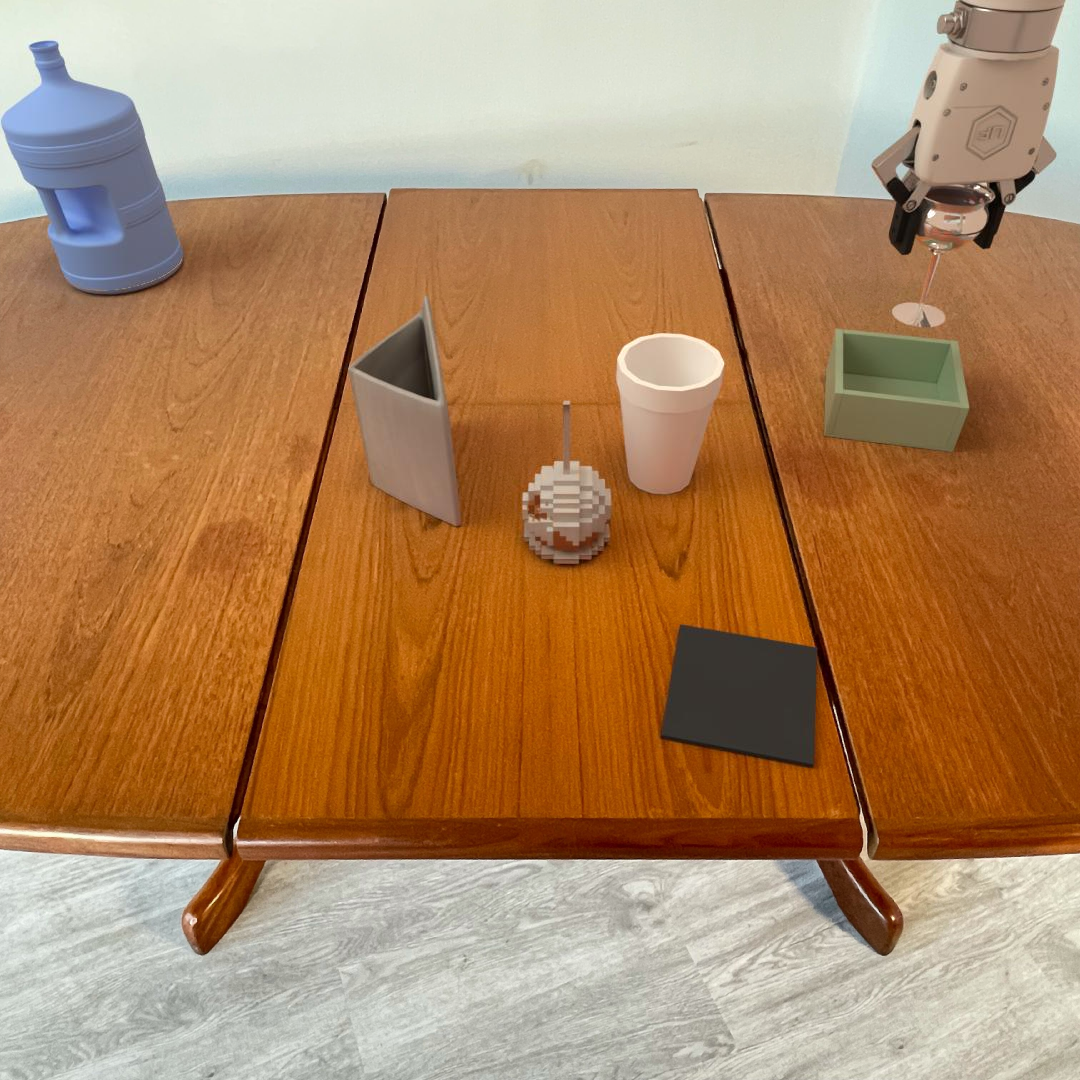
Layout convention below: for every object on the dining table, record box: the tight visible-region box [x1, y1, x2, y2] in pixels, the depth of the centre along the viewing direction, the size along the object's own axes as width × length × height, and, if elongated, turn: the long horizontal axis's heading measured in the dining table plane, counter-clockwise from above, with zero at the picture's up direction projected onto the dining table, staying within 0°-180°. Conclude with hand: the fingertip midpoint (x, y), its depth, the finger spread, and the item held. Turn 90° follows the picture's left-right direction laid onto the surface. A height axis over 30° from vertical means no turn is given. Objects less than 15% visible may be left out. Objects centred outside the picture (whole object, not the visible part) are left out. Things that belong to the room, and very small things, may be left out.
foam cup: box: [615, 332, 726, 495], centre depth 83 cm, size 10×9×13 cm
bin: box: [823, 328, 970, 453], centre depth 92 cm, size 13×13×5 cm
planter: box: [347, 295, 462, 527], centre depth 81 cm, size 16×8×19 cm, turn 12°
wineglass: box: [891, 183, 995, 328], centre depth 82 cm, size 7×7×12 cm
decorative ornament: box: [521, 400, 612, 565], centre depth 76 cm, size 8×8×15 cm
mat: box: [660, 624, 818, 768], centre depth 68 cm, size 11×11×1 cm
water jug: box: [0, 40, 184, 295], centre depth 112 cm, size 16×16×28 cm
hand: (939, 244), depth 81 cm, fingers closed on wineglass, 6 cm apart
